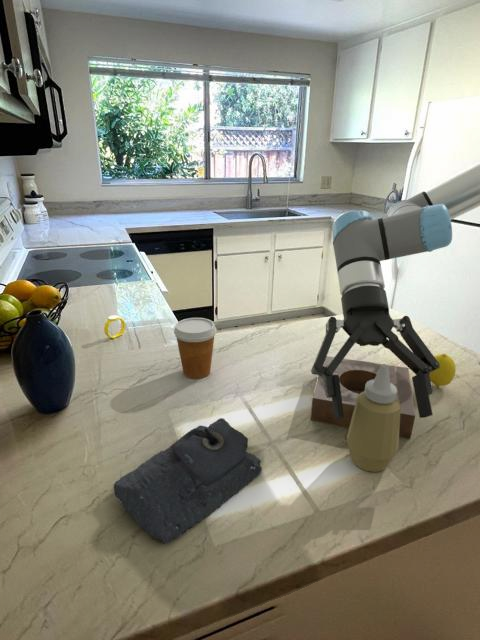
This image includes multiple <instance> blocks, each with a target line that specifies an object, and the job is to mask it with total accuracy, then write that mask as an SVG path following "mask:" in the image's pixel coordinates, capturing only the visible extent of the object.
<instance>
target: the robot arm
mask: <svg viewBox="0 0 480 640" xmlns="http://www.w3.org/2000/svg"><path fill="white" fill-rule="evenodd" d="M479 207H480V161H478V162H476V163H474V164H472V165H470V166H468V167H467V168H465V169H463V170H461V171H459V172H457V173H455V174H453V175H452V176H449V177H447V178H446V179H444V180H442V181H440V182H438V183H436V184H434V185H433V186H430V187H429V188H426V189H424V190H423V191H422V192H419V193H418V194H415V195H413V196H412V197H410V198H407V199H402V200H399V201H397V202H395V203H394V204H392V205H391V206H390V207H389V209H388V210H387V213H386V216H384V217H380V218H373V216H372V215H371V214H370V213H369V212H368V211H366V210H362V209H361V210H356V209H353V210H349V211H346V212H344V213H341V214H340V215H338V216H337V217H336V219H335V220H334V221H333V223H332V228H331V229H332V230H331V231H332V246H333V252H334V259H335V264H336V270H337V272H336V273H337V278H338V286H339V287H338V288H339V292H340V295H341V297H340V301H341V309H342V316H343V319H337V318H336V317H335V316H329V318H328V319H327V321H326V323H325V335H324V337H323V340H322V343H321V345H320V348H319V350H318V353H317V355H316V357H315V360H314V362H313V365H312V366H311V370H310V372H311V374H312V375H314V376H316V375H317V376H318V375H320V376H321V377H322V378H323V379H324V386H325V395H326V397H327V398H332V403H333V411H334V420H340V419H342V418H343V417H344V413H343V405H342V397H341V389H340V381H339V375H333V373H334V371H335V370H336V368H337V367H338V366H339V364H340V363H341V362H342V360H343V359H345V358H346V356H347V355H348V353H349V352H350V351H351V349H352V348H353V346H354V345H355V344H357V345H359V347H365V346H373V347H379V345H381V346H383V347H384V348H385V349H388V350H389V351H390V352H391V353H392V355H394V356H396V358H398V360H400V361H401V362H402V363H403V364H404V366H406V368H408V369H409V370H410V371H412V373H414V374H415V375H413V376H412V377H411V380H412V385H413V391H414V395H415V401H416V406H417V412H418V416H419V419H425V418H427V417H431V416H433V409H432V404H431V401H430V395H432V394H433V391H434V390H433V386H432V382H431V381H430V376H429V374H430V372H433V371H434V370H436V369H438V368H439V367H440V364H439V363H438V361H437V360H436V359H435V357H434V356H435V355H434V354H433V353H432V352H431V350H430V349H429V348H428V346H427V345H426V344H425V341H423V340H422V338H421V337H420V335H419V334H418V333H417V331H416V329H414V327H413V324H412V320H411V318H410V316H408V315H404V316H402V318H401V317H400V318H394V319H393V318H392V317H391V315H390V307H389V301H388V297H387V291H386V290H385V287H386V285H385V280H384V275H383V271H382V264H381V262H383V261H388V260H392V259H396V258H403V257H408V256H413V255H417V254H422V253H427V252H428V253H430V252H431V253H432V252H433V251H436V250H439V249H443V248H447V247H448V246H450V244H451V243H452V241H453V225H452V220H454V219H456V218H458V217H460V216H462V215H464V214H467V213H469V212H471V211H472V210H475V209H477V208H479ZM341 329H342V330H343V331H344V332H345V333H346V334H347V335H348V338H347V339H346V340H345V342H344V344H343V345H342V346H341V347H340V349H339V350H338V352H337V353H336V355H334V356H333V357H334V358H333V360H332V361H331V363H330V364H329V365H328V367H324V366H323V364H324V361H325V359H326V356H328V353H329V351H330V349H331V346H332V343H333V341H334V338H335V337H336V334H337V333H339V331H340V330H341ZM392 329H395V331H396V332H397V333H399V335H400V336H401V338H402V339H403V341H404V342H405V343H406V344H404V343H403V342H402V341H401V340H400V339H399V336H398V335H397V334H396V333H395V332H394V331H392ZM406 345H407V346H406Z"/></svg>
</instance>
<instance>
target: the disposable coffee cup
mask: <svg viewBox="0 0 480 640" xmlns="http://www.w3.org/2000/svg"><path fill="white" fill-rule="evenodd" d="M216 333H217V327H216V325H215V322H214V321H213V320H211V319H208V318H205V317H189V318H184V319H182V320H179V321H178V322H177V323H176V324H175V327H174V329H173V334H174V336H175V337H176V343H177V347H178V352H179V358H180V363H181V368H182V372H183V373H182V374H183V375H184V376H185V378H189V379H194V380H198V379H203V378H206V377H208V376H209V375H210V374H211V368H212V361H213V360H212V358H213V353H214V344H215V343H214V341H215V336H216Z"/></svg>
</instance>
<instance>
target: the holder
mask: <svg viewBox="0 0 480 640" xmlns="http://www.w3.org/2000/svg"><path fill="white" fill-rule="evenodd" d="M334 357H335V356H328V355H327V356H326V359H325V361H324V364H323V366H324V367H328V365H329V364H330V363H331V361H332V360H333V358H334ZM381 364H382V363H377V362H372V361H365V360H356V359H350V358H349V359H348V358H344V359H343V360H342V362H341V363H340V364H339V366H338V367H337V368H336V370H335V371H334V373H333V375H339V381H340V389H341V397H342V405H343V413H344V417H343V418H342V419H340V420H334V411H333V403H332V398H327V397H326V395H325V386H324V379H323V378H322V377H321V376H320V375H317V377H316V378H317V379H316V383H315V387H314V391H313V395H312V399H311V400H312V401H311V410H310V421H315V422H319V423H325V424H331V425H337V426H341V427H346V428H349V427H350V423H351V419H352V416H353V412H354V408H355V405H356V401H357V397H358V395H359V394H360V393H358V392H354V391H361V392H364V391H365V385H366V383H367V382H368V381H370V380H373V379H375V377H376V375H377V373H378V370H379V368H380V366H381ZM387 365H388V366H389V375H390V383H392V384H393V385H394V386H396V388H397V394H396V398H397V399H398V400H399V401H400V404H401V412H400V428H399V438H405V439H409V440H410V439H411V438H412V433H413V428H414V424H415V420H416V419H415V418H416V413H415V412H416V411H415V404H414V399H413V398H414V397H413V387H412V384H411V378H410V377H411V376H410V369H409V368H408V367H404V366H398V365H391V364H387Z"/></svg>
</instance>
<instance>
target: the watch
mask: <svg viewBox="0 0 480 640" xmlns="http://www.w3.org/2000/svg"><path fill="white" fill-rule="evenodd" d="M118 320H119V321H120V324H121V325H120V330H119V332H117V333H115V334H114V335H111V334H110V333H109V328H110V325H111V323H112V322H116V321H118ZM103 330H104V334H105V335H106V337H108V338H110V339H114V340H115V339H116V338H118V337H120V336H123V334H124V333H125V331H126V321H125V320H124V319H123V318H122V317H120V316H119V315H117V314H112V315H109V316H108V317H107V320H106V322H105V324H104V327H103Z"/></svg>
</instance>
